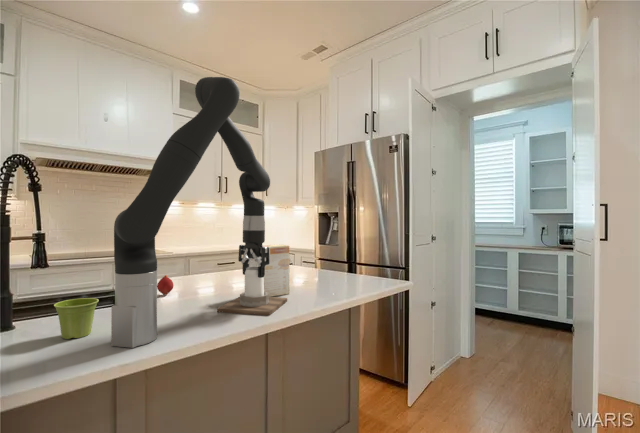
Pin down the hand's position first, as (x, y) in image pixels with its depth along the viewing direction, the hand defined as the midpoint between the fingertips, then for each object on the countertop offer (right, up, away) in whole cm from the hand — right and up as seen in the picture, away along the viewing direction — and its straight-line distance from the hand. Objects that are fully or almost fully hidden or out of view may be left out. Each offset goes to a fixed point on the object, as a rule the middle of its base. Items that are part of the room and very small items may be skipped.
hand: (253, 275), depth 115 cm
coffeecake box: (+3, -11, +17) cm, 20 cm away
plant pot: (-40, -11, -28) cm, 50 cm away
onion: (-38, -11, +16) cm, 43 cm away
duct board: (0, -11, 0) cm, 11 cm away
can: (0, -10, 0) cm, 10 cm away
